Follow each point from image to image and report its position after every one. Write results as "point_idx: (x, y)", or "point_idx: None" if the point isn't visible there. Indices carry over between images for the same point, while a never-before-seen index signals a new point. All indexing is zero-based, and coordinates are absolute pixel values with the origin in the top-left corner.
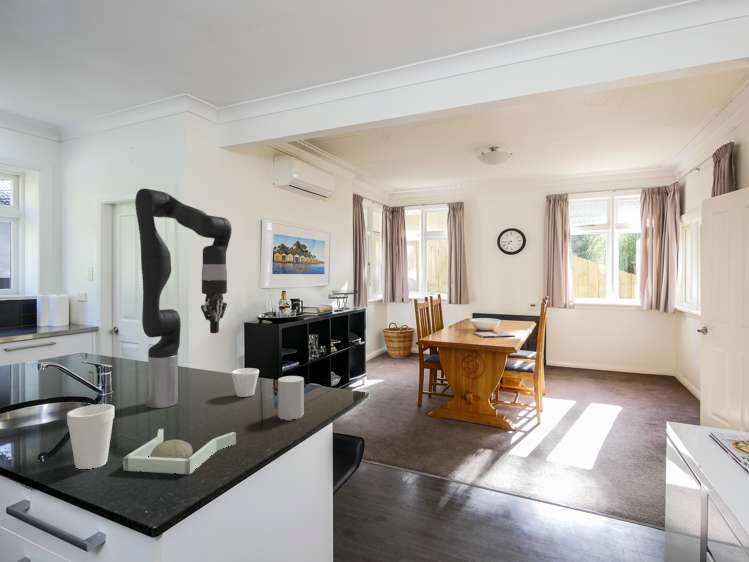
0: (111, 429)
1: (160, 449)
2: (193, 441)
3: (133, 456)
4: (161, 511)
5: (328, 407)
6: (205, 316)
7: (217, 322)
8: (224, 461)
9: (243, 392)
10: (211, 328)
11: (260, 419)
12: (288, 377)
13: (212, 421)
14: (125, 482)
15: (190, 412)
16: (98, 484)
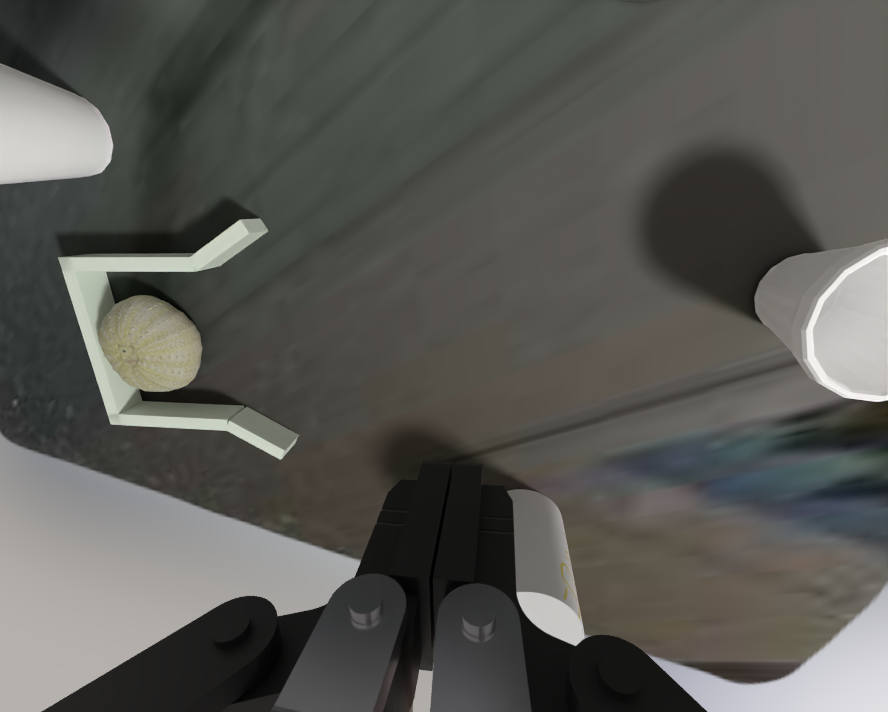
0: (10, 178)
1: (101, 342)
2: (280, 329)
3: (74, 279)
4: (25, 425)
5: (610, 605)
6: (121, 682)
7: (427, 654)
8: (207, 452)
9: (763, 306)
10: (381, 524)
11: (480, 447)
12: (554, 620)
13: (441, 305)
14: (58, 298)
15: (531, 161)
16: (26, 244)
